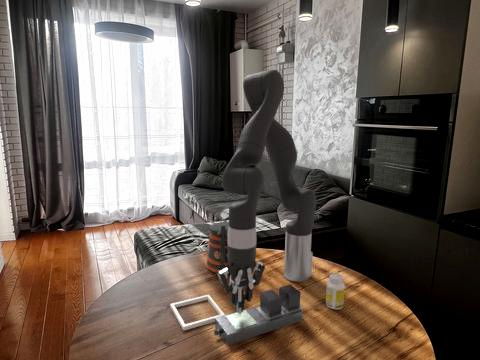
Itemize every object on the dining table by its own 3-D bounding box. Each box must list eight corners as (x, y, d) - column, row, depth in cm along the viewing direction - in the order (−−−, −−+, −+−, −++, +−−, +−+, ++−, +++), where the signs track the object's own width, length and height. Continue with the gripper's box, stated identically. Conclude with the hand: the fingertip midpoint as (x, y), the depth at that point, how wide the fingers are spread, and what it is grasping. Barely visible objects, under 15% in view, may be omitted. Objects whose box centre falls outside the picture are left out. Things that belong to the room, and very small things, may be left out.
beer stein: (245, 280, 121) (246, 227, 117) (204, 281, 121) (204, 227, 117) (243, 258, 140) (243, 211, 136) (207, 258, 139) (207, 211, 135)
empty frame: (208, 297, 109) (208, 294, 109) (225, 318, 98) (225, 314, 98) (170, 307, 104) (170, 304, 103) (183, 330, 93) (183, 326, 93)
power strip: (289, 305, 106) (290, 281, 104) (305, 319, 99) (306, 293, 97) (209, 329, 93) (209, 302, 92) (221, 347, 86) (221, 318, 85)
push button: (249, 316, 89) (249, 281, 87) (229, 316, 89) (229, 281, 87) (249, 302, 96) (250, 269, 94) (230, 302, 96) (230, 269, 94)
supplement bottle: (344, 303, 107) (346, 274, 106) (341, 311, 103) (344, 282, 101) (327, 299, 110) (329, 270, 108) (323, 307, 105) (325, 278, 103)
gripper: (258, 233, 95) (256, 290, 98) (211, 241, 89) (211, 301, 92) (272, 242, 89) (270, 302, 92) (223, 252, 82) (222, 316, 85)
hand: (240, 301), depth 92 cm, fingers closed on push button, 3 cm apart
